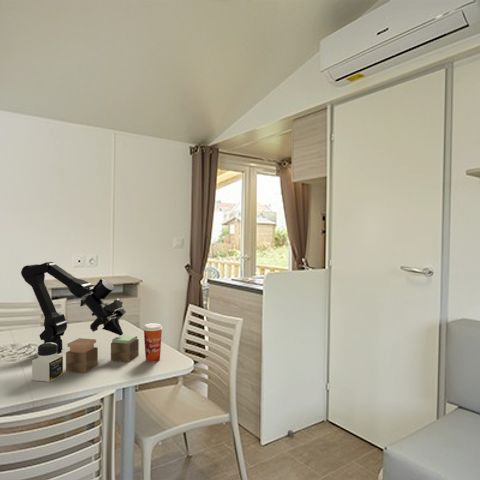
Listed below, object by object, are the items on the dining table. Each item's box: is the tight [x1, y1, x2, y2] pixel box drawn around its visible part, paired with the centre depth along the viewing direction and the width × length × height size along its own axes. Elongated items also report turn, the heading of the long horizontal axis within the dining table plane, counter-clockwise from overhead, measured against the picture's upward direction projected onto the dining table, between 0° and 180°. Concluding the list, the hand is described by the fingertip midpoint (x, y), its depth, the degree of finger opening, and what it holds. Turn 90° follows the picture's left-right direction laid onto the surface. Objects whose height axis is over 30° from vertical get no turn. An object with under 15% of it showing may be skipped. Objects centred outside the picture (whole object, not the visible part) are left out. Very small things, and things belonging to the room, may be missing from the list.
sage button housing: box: [110, 338, 140, 363], centre depth 156 cm, size 8×8×7 cm
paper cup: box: [142, 322, 164, 363], centre depth 154 cm, size 8×8×14 cm
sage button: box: [111, 334, 138, 344], centre depth 155 cm, size 7×7×7 cm
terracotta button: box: [67, 337, 97, 353], centre depth 144 cm, size 7×7×7 cm
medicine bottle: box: [31, 342, 64, 383], centre depth 135 cm, size 7×7×12 cm
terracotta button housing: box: [65, 346, 99, 374], centre depth 144 cm, size 8×8×7 cm
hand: (121, 334), depth 156 cm, fingers closed
